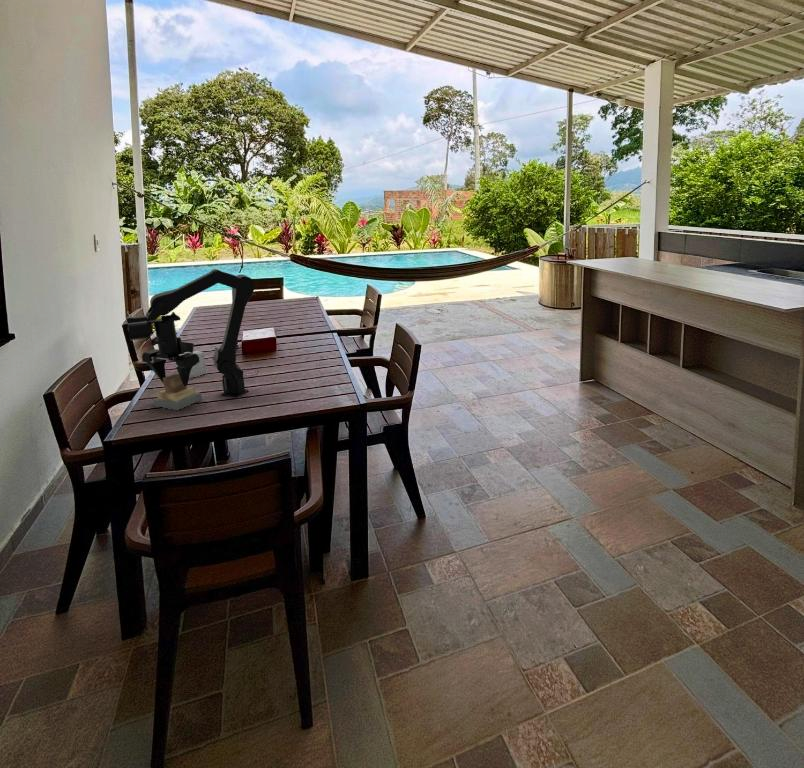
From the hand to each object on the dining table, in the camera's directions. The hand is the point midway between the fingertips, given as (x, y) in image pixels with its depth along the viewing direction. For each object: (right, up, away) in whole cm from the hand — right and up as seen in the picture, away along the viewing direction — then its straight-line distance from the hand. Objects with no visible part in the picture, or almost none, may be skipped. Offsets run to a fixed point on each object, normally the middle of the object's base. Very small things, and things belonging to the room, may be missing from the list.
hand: (175, 384), depth 174 cm
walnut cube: (0, -2, +1) cm, 2 cm away
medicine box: (-5, +3, +30) cm, 30 cm away
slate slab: (0, -6, +2) cm, 6 cm away
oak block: (0, -4, +1) cm, 4 cm away
